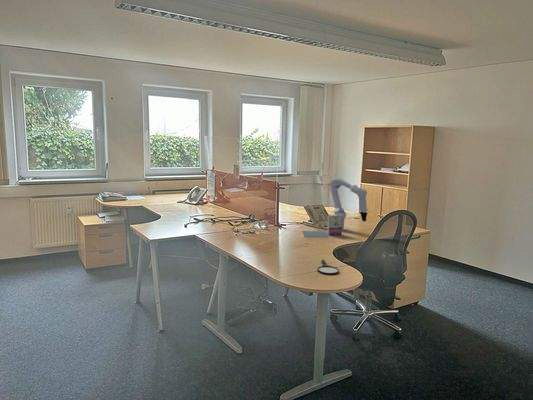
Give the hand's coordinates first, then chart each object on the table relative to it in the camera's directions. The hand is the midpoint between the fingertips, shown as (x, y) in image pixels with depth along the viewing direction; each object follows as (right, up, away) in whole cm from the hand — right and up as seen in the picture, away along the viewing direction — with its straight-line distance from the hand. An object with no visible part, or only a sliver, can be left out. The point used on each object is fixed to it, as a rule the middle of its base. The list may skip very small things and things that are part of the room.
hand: (364, 220), depth 336 cm
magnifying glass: (-44, -25, -89) cm, 102 cm away
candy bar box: (-25, -12, -2) cm, 28 cm away
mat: (-41, -11, -2) cm, 42 cm away
